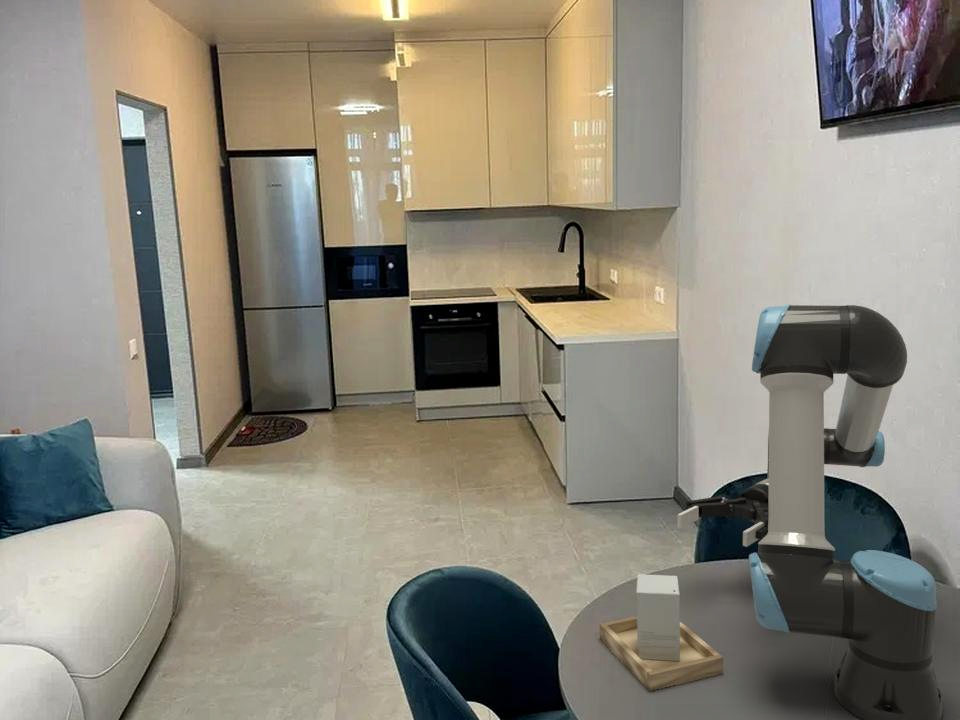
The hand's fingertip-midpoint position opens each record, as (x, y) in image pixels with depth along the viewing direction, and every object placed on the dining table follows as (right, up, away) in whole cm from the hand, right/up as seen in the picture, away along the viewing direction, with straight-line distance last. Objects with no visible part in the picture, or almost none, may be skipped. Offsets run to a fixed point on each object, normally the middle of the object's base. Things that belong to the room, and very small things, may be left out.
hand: (710, 530), depth 147 cm
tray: (-11, -21, -7) cm, 25 cm away
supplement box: (-12, -20, -7) cm, 24 cm away
